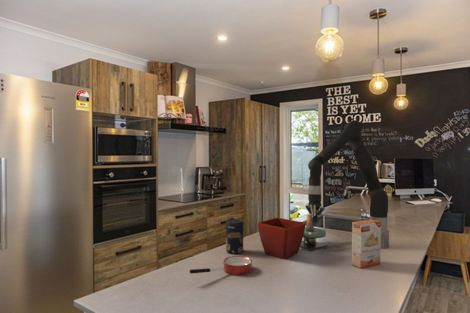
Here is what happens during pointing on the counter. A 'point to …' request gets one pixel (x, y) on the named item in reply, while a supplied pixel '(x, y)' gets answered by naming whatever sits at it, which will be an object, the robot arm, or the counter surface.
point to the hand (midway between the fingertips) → (314, 222)
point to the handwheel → (313, 230)
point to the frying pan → (231, 266)
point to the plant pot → (281, 236)
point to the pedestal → (311, 244)
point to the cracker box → (366, 243)
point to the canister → (234, 236)
